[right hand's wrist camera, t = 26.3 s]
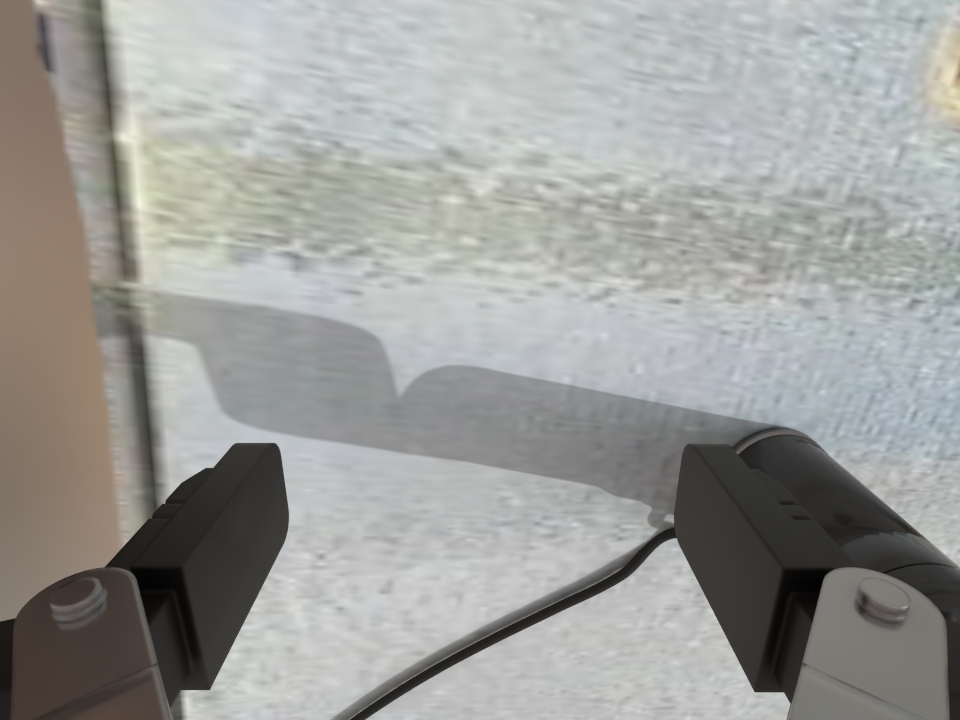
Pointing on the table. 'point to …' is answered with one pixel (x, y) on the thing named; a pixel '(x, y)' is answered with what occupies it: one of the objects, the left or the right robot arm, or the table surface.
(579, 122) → the table surface
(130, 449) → the table surface
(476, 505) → the table surface
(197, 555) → the right robot arm
